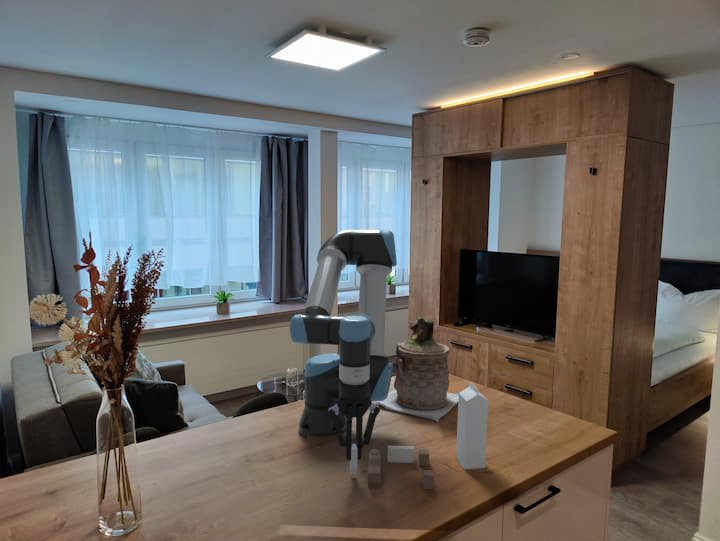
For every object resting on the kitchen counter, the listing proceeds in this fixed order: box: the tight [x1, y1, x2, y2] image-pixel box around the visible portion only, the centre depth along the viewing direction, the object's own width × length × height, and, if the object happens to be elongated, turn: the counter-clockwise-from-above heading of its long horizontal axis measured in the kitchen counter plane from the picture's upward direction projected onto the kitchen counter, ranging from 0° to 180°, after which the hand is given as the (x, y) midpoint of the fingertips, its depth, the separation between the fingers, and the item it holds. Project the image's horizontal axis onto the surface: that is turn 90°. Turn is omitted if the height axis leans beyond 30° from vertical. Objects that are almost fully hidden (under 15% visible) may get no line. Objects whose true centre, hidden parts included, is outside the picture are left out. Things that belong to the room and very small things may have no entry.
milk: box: [455, 381, 489, 470], centre depth 130 cm, size 6×6×22 cm
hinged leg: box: [367, 448, 382, 489], centre depth 122 cm, size 12×3×4 cm, turn 178°
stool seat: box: [387, 445, 435, 490], centre depth 123 cm, size 17×15×5 cm
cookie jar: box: [374, 316, 459, 423], centre depth 170 cm, size 25×25×32 cm
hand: (353, 471), depth 121 cm, fingers closed
